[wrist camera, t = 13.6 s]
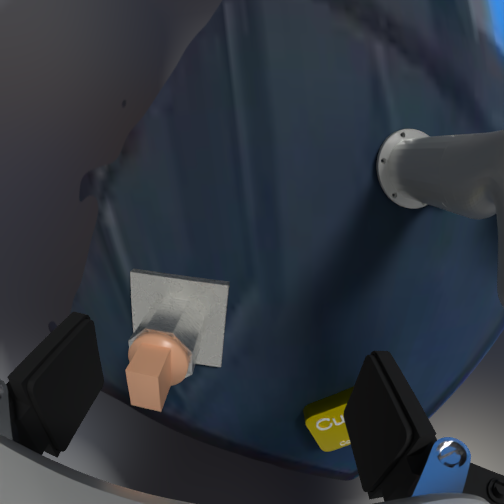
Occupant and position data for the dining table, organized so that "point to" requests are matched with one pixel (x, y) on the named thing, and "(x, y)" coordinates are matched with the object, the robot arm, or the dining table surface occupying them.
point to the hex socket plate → (181, 312)
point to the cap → (154, 368)
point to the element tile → (328, 421)
